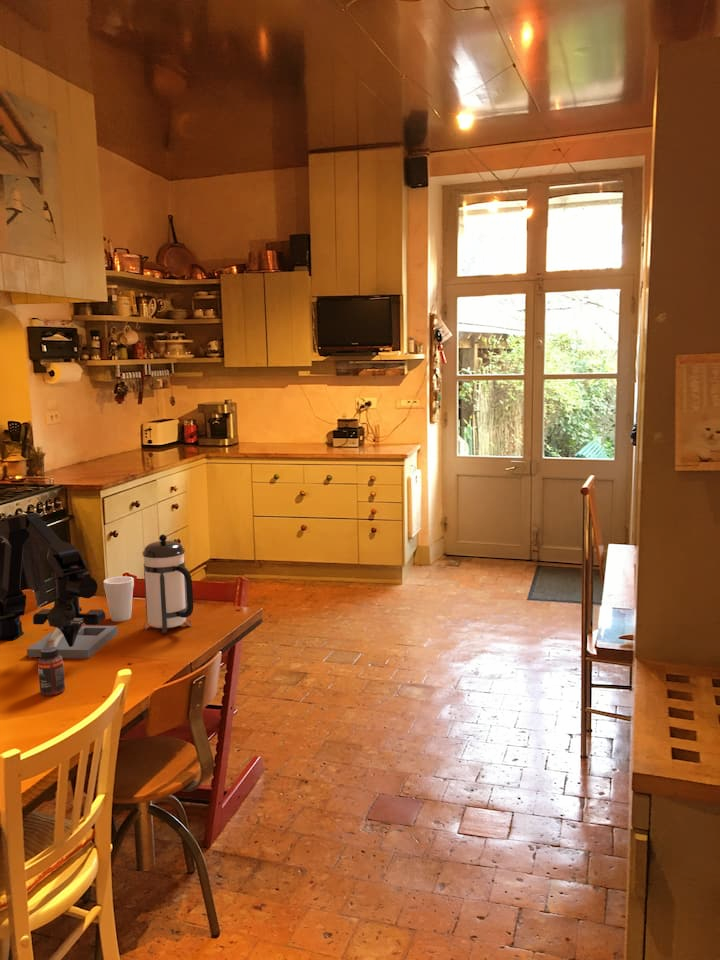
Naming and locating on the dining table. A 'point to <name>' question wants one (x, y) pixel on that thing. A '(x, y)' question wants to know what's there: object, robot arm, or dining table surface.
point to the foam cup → (119, 597)
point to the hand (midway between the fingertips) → (71, 646)
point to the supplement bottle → (51, 672)
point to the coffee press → (167, 585)
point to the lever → (55, 638)
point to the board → (78, 642)
